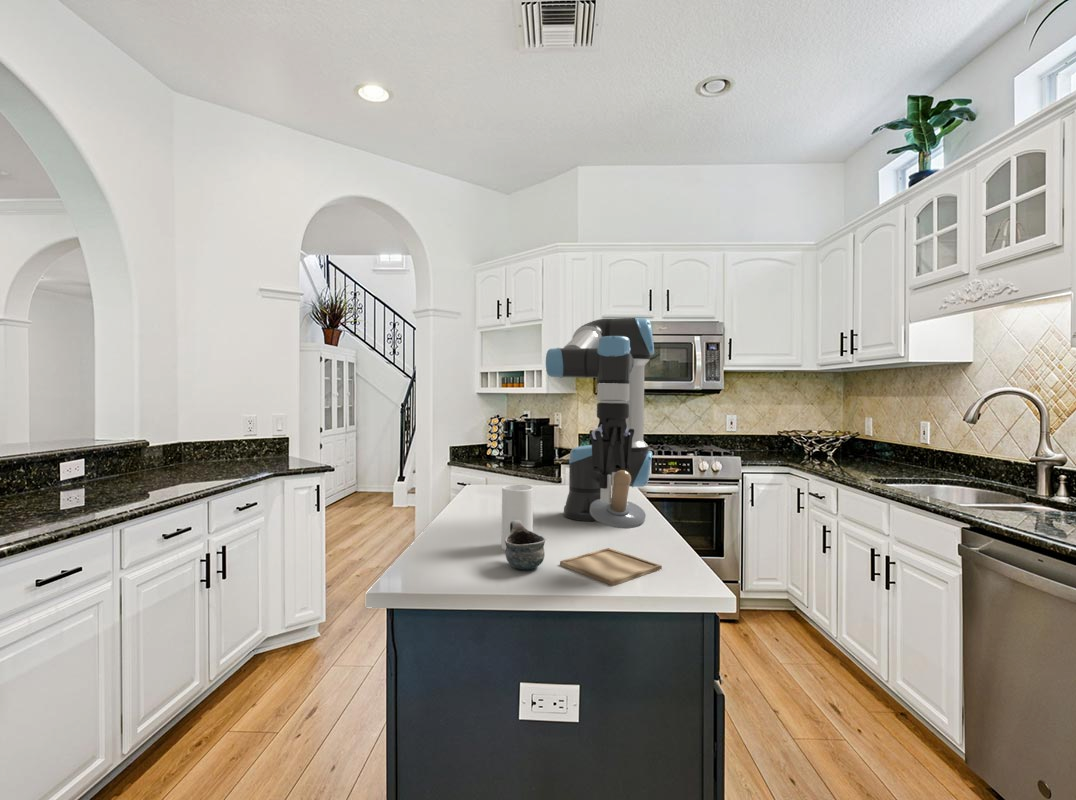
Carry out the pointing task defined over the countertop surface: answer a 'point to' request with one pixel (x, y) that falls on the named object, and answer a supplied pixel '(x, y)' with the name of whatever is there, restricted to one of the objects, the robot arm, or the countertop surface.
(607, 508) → the lid
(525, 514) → the cup
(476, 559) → the countertop surface
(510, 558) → the mug
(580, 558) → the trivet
